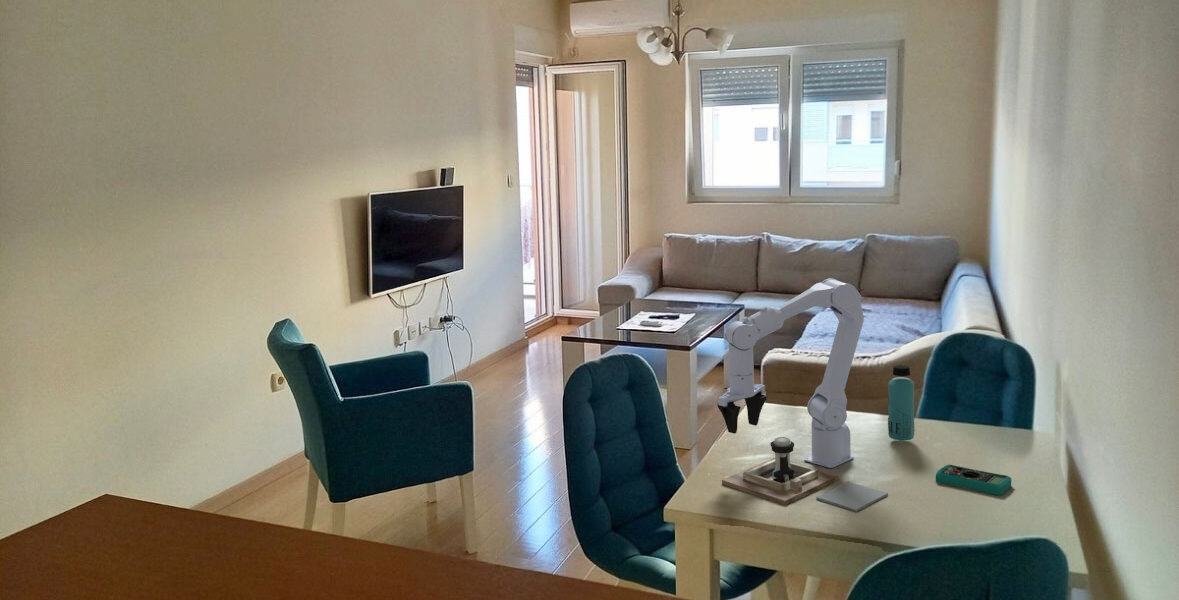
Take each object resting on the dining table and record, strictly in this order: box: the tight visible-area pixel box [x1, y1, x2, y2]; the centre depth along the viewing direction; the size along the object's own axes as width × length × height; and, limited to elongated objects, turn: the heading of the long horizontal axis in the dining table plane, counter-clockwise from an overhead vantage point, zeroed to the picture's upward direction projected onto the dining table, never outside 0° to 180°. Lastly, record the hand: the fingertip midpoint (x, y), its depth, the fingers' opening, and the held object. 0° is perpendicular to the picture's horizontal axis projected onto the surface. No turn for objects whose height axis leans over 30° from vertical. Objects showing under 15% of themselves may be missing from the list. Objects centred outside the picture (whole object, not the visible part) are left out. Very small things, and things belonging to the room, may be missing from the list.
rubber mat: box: [816, 481, 889, 513], centre depth 199 cm, size 12×10×1 cm
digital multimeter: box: [935, 464, 1012, 496], centre depth 203 cm, size 7×15×3 cm, turn 48°
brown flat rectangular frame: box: [721, 457, 841, 506], centre depth 210 cm, size 20×18×3 cm
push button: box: [767, 436, 795, 483], centre depth 209 cm, size 7×5×10 cm
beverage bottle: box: [887, 364, 916, 442], centre depth 230 cm, size 6×7×20 cm
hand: (742, 428), depth 217 cm, fingers open, 7 cm apart
